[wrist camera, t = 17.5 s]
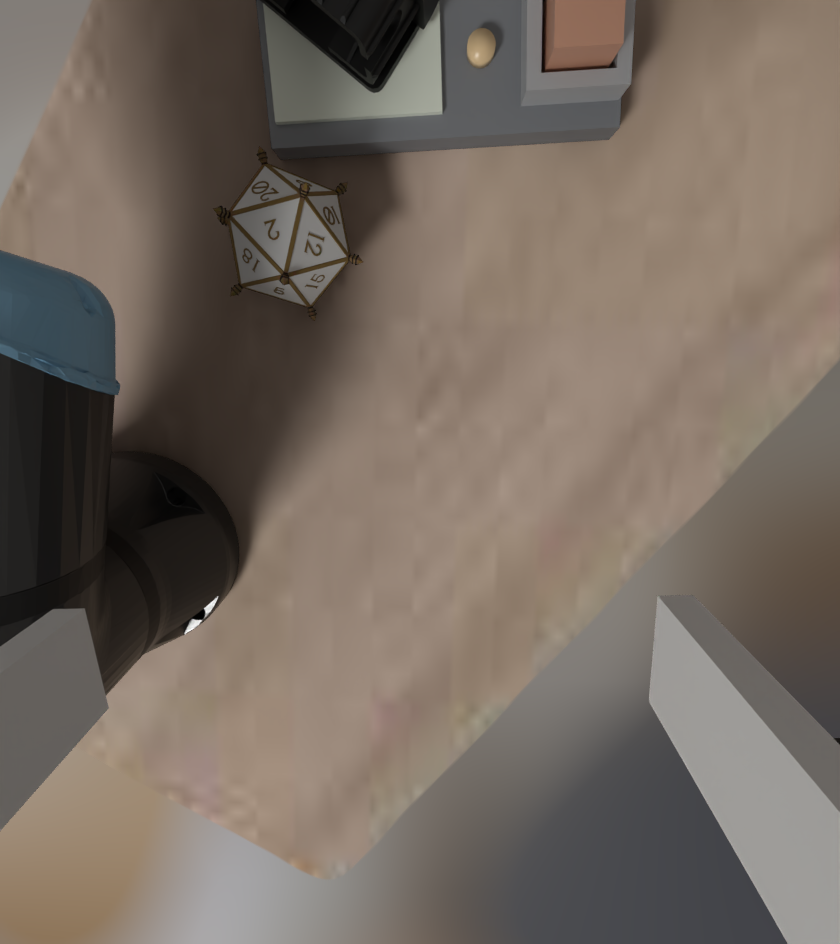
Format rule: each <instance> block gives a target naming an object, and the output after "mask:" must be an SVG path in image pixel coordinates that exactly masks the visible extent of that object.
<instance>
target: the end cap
mask: <svg viewBox="0 0 840 944" xmlns="http://www.w3.org/2000/svg"><path fill="white" fill-rule="evenodd" d="M260 1H261V2H263V3H264V4H265V5H266V6H267V7H269V8H270V9H271V10H272V11H273V12H275V13H276V14H277V15H278V16H280V17H281V18H282V19H283V20H284V21H286V22H287V23H288V24H289V25H290V26H292V27H293V28H294V29H295V30H296V31H298V32H299V33H300V34H301V35H302V36H304V37H305V38H306V39H307V40H308V41H310V42H311V43H312V44H313V45H314V46H316V47H317V48H318V49H319V50H320V51H322V52H323V53H324V54H325V55H326V56H328V57H329V58H330V59H331V60H333V61H334V62H335V63H336V64H337V65H339V66H340V67H341V68H342V69H343V70H345V71H346V72H347V73H348V74H349V75H351V76H352V77H353V78H354V79H355V80H357V81H358V82H359V83H360V84H361V85H363V86H364V87H365V88H366V89H367V90H369V91H370V92H373V93H376V92H380V91H381V90H382V89H383V87H384V86H385V84H386V83H387V81H388V79H389V78H390V76H391V74H392V73H393V71H394V69H395V68H396V66H397V65H398V63H399V61H400V60H401V58H402V56H403V55H404V53H405V52H406V50H407V48H408V47H409V45H410V43H411V42H412V40H413V38H414V37H415V35H416V33H417V31H418V30H419V28H421V29H425V27H426V25H427V23H428V22H429V20H430V18H431V16H432V14H433V12H434V10H435V8H436V6H437V4H438V2H439V0H260Z"/></svg>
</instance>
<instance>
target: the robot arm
mask: <svg viewBox="0 0 840 944" xmlns="http://www.w3.org/2000/svg"><path fill="white" fill-rule="evenodd" d="M119 390H120V384H119V383H118V381H117V380H116V379H115V318H114V313H113V310H112V308H111V305H110V303H109V302H108V300H107V299H106V297H105V296H104V294H103V293H102V292H101V291H100V290H99V289H98V288H97V287H96V286H94V285H93V284H92V283H91V282H89V281H87V280H86V279H84V278H82V277H80V276H78V275H75V274H73V273H70V272H67V271H64V270H61V269H58V268H55V267H52V266H49V265H45V264H42V263H39V262H36V261H33V260H30V259H27V258H23V257H20V256H17V255H14V254H11V253H8V252H5V251H1V250H0V830H1V829H2V828H3V827H4V826H5V825H6V824H7V823H8V821H9V820H10V819H11V818H12V817H13V816H14V815H15V813H16V812H17V811H18V810H19V809H20V808H21V807H22V806H23V805H24V803H25V802H26V801H27V800H28V799H29V798H30V797H31V795H32V794H33V793H34V792H35V791H36V790H37V789H38V788H39V786H40V785H41V784H42V783H43V782H44V781H45V779H46V778H47V777H48V776H49V775H50V774H51V773H52V772H53V771H54V769H55V768H56V767H57V766H58V765H59V764H60V763H61V761H62V760H63V759H64V758H65V757H66V756H67V755H68V754H69V752H70V751H71V750H72V749H73V748H74V747H75V746H76V745H77V743H78V742H79V741H80V740H81V739H82V738H83V737H84V735H85V734H86V733H87V732H88V731H89V730H90V729H91V728H92V726H93V725H94V724H95V723H96V722H97V721H98V720H99V718H100V717H101V716H102V715H103V714H104V713H105V712H106V711H107V709H108V708H109V707H108V703H107V699H106V695H107V694H108V693H109V692H110V690H111V689H112V688H113V687H114V686H115V685H116V684H117V683H118V682H119V681H120V679H121V678H122V677H123V676H124V675H125V674H126V673H127V672H128V671H129V670H130V668H131V667H132V666H133V665H134V664H135V663H136V662H137V661H138V660H139V659H140V658H141V656H142V655H143V654H145V653H147V652H149V651H151V650H153V649H155V648H157V647H160V646H162V645H164V644H166V643H168V642H170V641H172V640H174V639H176V638H178V637H180V636H182V635H184V634H186V633H188V632H190V631H192V630H193V629H195V628H196V627H198V626H199V625H200V624H201V623H203V622H204V621H205V620H206V619H207V618H208V617H209V616H210V615H211V614H212V613H213V612H214V611H215V609H216V608H217V607H218V606H219V604H220V603H221V602H222V601H223V599H224V598H225V597H226V595H227V594H228V592H229V591H230V589H231V587H232V585H233V582H234V580H235V577H236V573H237V569H238V562H239V546H238V539H237V534H236V530H235V527H234V524H233V521H232V519H231V517H230V514H229V512H228V511H227V509H226V507H225V505H224V504H223V502H222V501H221V499H220V498H219V497H218V495H217V494H216V493H215V492H214V490H213V489H212V488H211V487H210V486H209V485H208V484H207V483H206V482H205V481H204V480H202V479H201V478H200V477H199V476H198V475H196V474H195V473H193V472H192V471H191V470H189V469H187V468H186V467H184V466H182V465H180V464H179V463H176V462H174V461H172V460H170V459H167V458H164V457H161V456H158V455H154V454H149V453H143V452H117V453H111V451H112V433H113V415H114V398H115V395H118V393H119ZM649 702H650V704H651V706H652V708H653V709H654V711H655V713H656V715H657V716H658V718H659V719H660V722H661V723H662V725H663V727H664V729H665V730H666V732H667V734H668V735H669V737H670V739H671V741H672V742H673V744H674V746H675V748H676V749H677V751H678V753H679V755H680V756H681V758H682V760H683V762H684V763H685V765H686V767H687V768H688V770H689V772H690V774H691V776H692V777H693V779H694V781H695V783H696V784H697V786H698V788H699V789H700V791H701V793H702V795H703V797H704V798H705V800H706V802H707V803H708V805H709V807H710V809H711V810H712V812H713V814H714V816H715V817H716V819H717V821H718V823H719V824H720V826H721V828H722V830H723V831H724V833H725V835H726V836H727V838H728V840H729V842H730V843H731V845H732V847H733V849H734V850H735V852H736V854H737V856H738V857H739V859H740V861H741V863H742V864H743V866H744V868H745V870H746V871H747V873H748V875H749V877H750V878H751V880H752V882H753V884H754V885H755V887H756V889H757V890H758V892H759V894H760V896H761V898H762V899H763V901H764V903H765V905H766V906H767V908H768V910H769V911H770V913H771V915H772V917H773V918H774V920H775V922H776V924H777V925H778V927H779V929H780V931H781V932H782V934H783V936H784V938H785V939H786V941H787V943H788V944H840V738H832V736H831V735H830V734H829V733H828V732H827V731H826V730H825V729H824V728H823V727H822V726H821V725H820V724H819V723H818V722H817V721H816V720H815V719H814V718H813V717H812V716H811V715H810V714H809V713H808V712H807V711H806V710H805V709H804V708H803V707H802V706H801V705H800V704H799V703H798V702H797V701H796V700H795V699H794V698H793V697H792V696H791V695H790V694H789V693H788V692H787V690H786V689H784V687H783V686H782V685H781V684H780V683H779V682H778V681H777V680H776V679H775V678H774V677H773V676H772V675H771V674H770V673H769V672H768V671H767V670H766V669H765V668H764V667H763V666H762V665H761V664H760V663H759V662H758V661H757V660H756V659H755V658H754V657H753V656H752V655H751V654H750V653H749V652H748V651H747V650H746V649H745V648H744V647H743V645H742V644H741V643H740V642H739V641H738V640H737V639H736V638H735V637H734V636H733V635H732V634H731V633H730V632H729V631H728V630H727V629H726V628H725V627H724V626H723V625H722V624H721V623H720V622H719V621H718V620H717V619H716V618H715V617H714V616H713V615H712V614H711V613H710V612H709V611H708V610H707V609H706V608H705V607H704V606H703V605H702V604H701V603H700V602H699V601H698V600H697V598H695V597H694V596H693V595H675V596H674V595H671V596H658V599H657V611H656V622H655V634H654V646H653V658H652V669H651V681H650V693H649Z"/></svg>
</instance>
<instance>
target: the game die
mask: <svg viewBox="0 0 840 944" xmlns="http://www.w3.org/2000/svg"><path fill="white" fill-rule="evenodd" d="M257 156H258V157H259V159H258V160H260V162H261V163H262V166H261V167H260V169H259V170H258V171H257V173H256V174H255V175H254V177H253V178H252V180H251V181H250V182H249V184H248V185H247V187H246V188H245V189H244V191H243V192H242V193H241V195H240V196H239V198H238V199H237V200H236V202H235V203H234V205H233V206H232V207H231V209H230V210H229V211H227V210H226V208H223V207H222V206H220V207H218V208H213V209H214V211H215V212H216V213H217V215H218V216H219V217H218V219H219V220H220V222H221V223H222V225H224V224H225V225H226V226H227V225H228V226H229V232H230V237H231V243H232V248H233V254H234V259H235V265H236V270H237V276H238V282H239V284H238V285H236V286H235V285H234V287H233V288H232V287H231V295H230V296H234V295H238V293H239V292H241V289H242V288H246V289H249V290H252V291H255V292H259V293H262V294H265V295H268V296H272V297H275V298H278V299H281V300H285V301H288V302H291V303H294V304H298V305H301V306H304V307H307V308H308V313H309V317H311V318H312V319H313V320H314V321H315V318H316V314H317V313H316V312H315V311H316V310H314V308H313V305H314V304H315V303H316V301H317V300H318V299H319V298H320V297H321V295H322V294H323V293H324V292H325V290H326V289H327V288H328V287H329V285H330V284H331V283H332V282H333V280H334V279H335V278H336V277H337V275H338V274H339V273H340V272H341V271H342V269H343V268H344V267H345V266H346V264H348V262H349V261H350V262H352V264H353V263H354V264H355V265H358V264H359V263H363V261H362V260H361V259H360V257H359V255H357V256H356V255H355V254H354V255H350V250H349V245H348V240H347V235H346V230H345V225H344V220H343V215H342V210H341V205H340V200H339V195H340V194H344V192H346V188H347V183H342V184H341V183H340V184H339V186H337V189H336V190H335V191H334V190H332V189H330V188H327V187H325V186H322V185H320V184H317V183H315V182H312V181H310V180H307V179H305V178H302V177H300V176H298V175H295V174H293V173H290V172H288V171H285V170H283V169H280V168H278V167H275V166H273V165H270V164H268V163H267V157H266V152H265V151H264V150H263V149H262V148H261V147H260V146H259V150H258V154H257Z"/></svg>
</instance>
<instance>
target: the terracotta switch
mask: <svg viewBox="0 0 840 944" xmlns="http://www.w3.org/2000/svg"><path fill="white" fill-rule="evenodd" d="M625 4H626V0H545V1H544V4H543V7H542V59H541V73H547V72H562V71H576V70H591V69H606V68H608V67H609V65H610V64H611V62H612V61H613V59H614V57H615V56H616V54H617V53H618V51H619V50H620V48H621V46H622V45H623V43H624V23H625Z"/></svg>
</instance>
